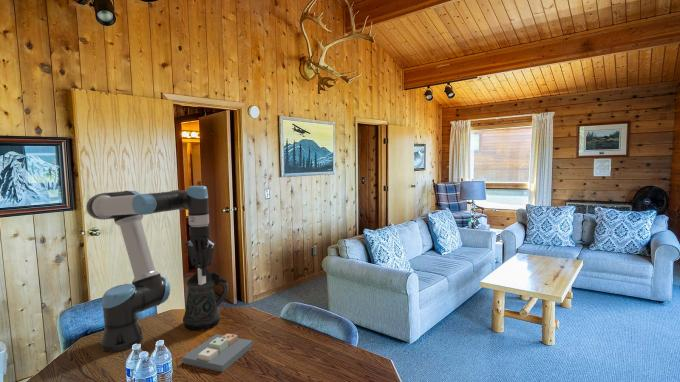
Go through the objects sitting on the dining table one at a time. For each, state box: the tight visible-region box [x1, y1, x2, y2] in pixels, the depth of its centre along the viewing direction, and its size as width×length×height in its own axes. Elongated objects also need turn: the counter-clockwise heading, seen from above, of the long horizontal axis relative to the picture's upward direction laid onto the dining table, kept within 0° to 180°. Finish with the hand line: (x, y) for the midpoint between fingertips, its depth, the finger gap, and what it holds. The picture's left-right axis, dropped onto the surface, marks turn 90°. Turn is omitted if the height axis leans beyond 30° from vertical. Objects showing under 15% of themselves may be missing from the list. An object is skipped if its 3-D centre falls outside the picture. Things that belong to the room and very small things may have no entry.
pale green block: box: [209, 337, 228, 353], centre depth 143 cm, size 5×5×4 cm
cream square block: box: [198, 347, 218, 362], centre depth 137 cm, size 5×5×4 cm
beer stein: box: [182, 269, 229, 332], centre depth 171 cm, size 16×19×25 cm
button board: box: [181, 333, 254, 373], centre depth 143 cm, size 18×19×2 cm
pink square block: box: [221, 332, 239, 346], centre depth 148 cm, size 5×5×4 cm
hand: (202, 283), depth 147 cm, fingers closed
